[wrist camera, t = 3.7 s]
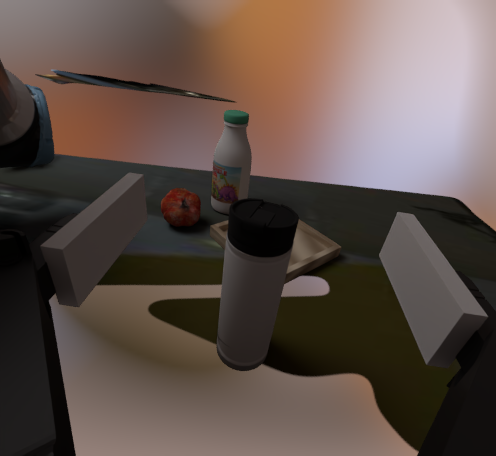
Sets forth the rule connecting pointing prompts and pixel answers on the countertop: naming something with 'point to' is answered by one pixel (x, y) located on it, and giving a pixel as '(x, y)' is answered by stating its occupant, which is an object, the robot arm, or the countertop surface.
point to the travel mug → (253, 279)
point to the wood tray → (295, 248)
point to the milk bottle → (231, 162)
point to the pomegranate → (181, 207)
